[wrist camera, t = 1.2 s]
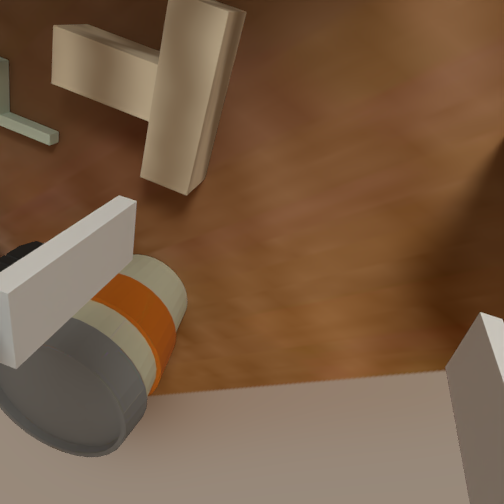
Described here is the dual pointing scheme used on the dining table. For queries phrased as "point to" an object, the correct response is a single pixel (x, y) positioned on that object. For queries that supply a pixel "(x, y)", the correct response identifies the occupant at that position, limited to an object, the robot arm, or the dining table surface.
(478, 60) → the dining table surface
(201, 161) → the t block
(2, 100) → the t outline
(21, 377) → the reusable coffee cup
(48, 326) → the robot arm
